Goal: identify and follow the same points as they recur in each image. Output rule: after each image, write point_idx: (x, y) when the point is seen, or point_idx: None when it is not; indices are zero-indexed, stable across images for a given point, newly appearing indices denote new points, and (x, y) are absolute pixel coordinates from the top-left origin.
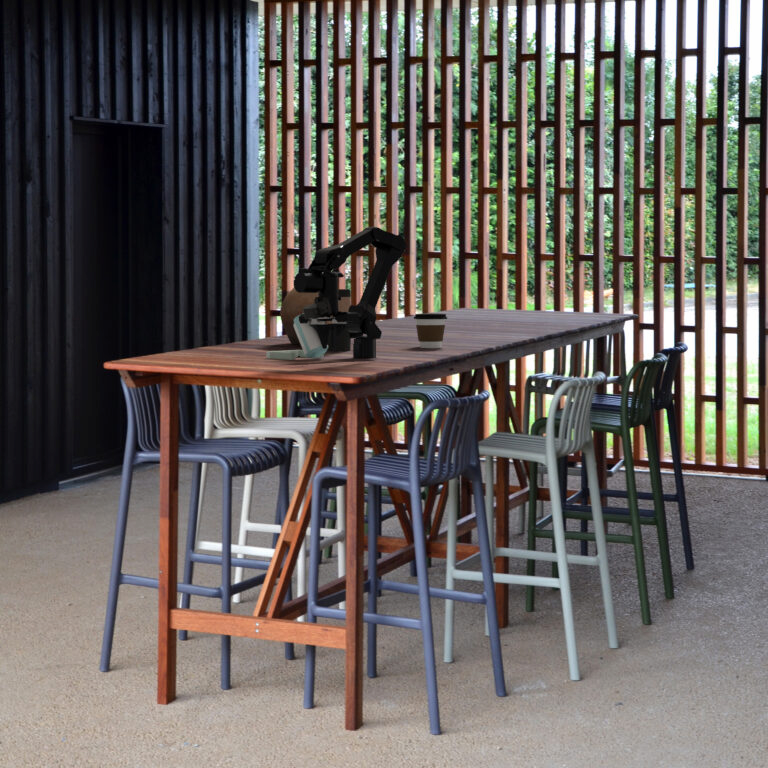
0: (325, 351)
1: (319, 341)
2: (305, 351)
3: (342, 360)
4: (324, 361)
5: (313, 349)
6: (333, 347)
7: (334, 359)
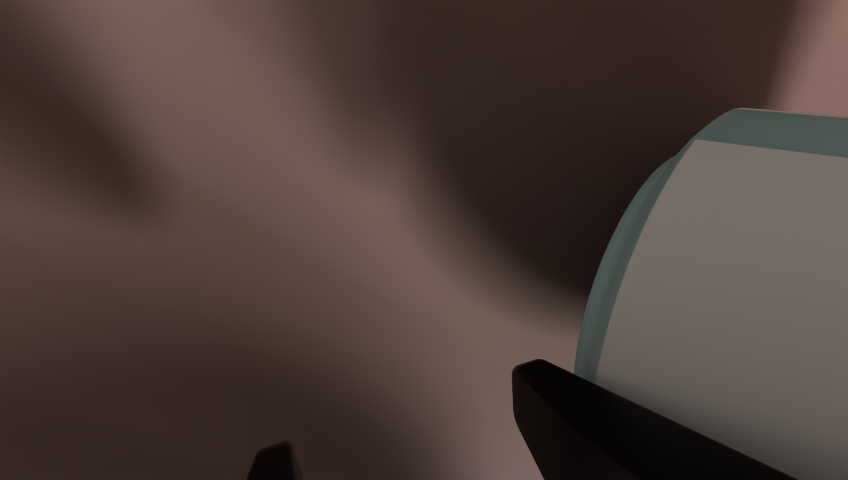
0: None
1: (723, 420)
2: (796, 113)
3: (175, 420)
4: (69, 23)
5: (656, 188)
6: (257, 475)
7: (454, 430)
